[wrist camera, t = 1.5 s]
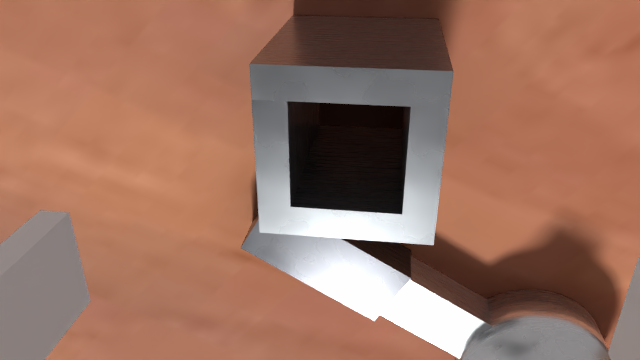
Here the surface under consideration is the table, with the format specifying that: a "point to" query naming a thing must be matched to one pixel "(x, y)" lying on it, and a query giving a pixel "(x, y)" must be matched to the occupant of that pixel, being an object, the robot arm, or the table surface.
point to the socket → (351, 128)
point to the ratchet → (434, 299)
